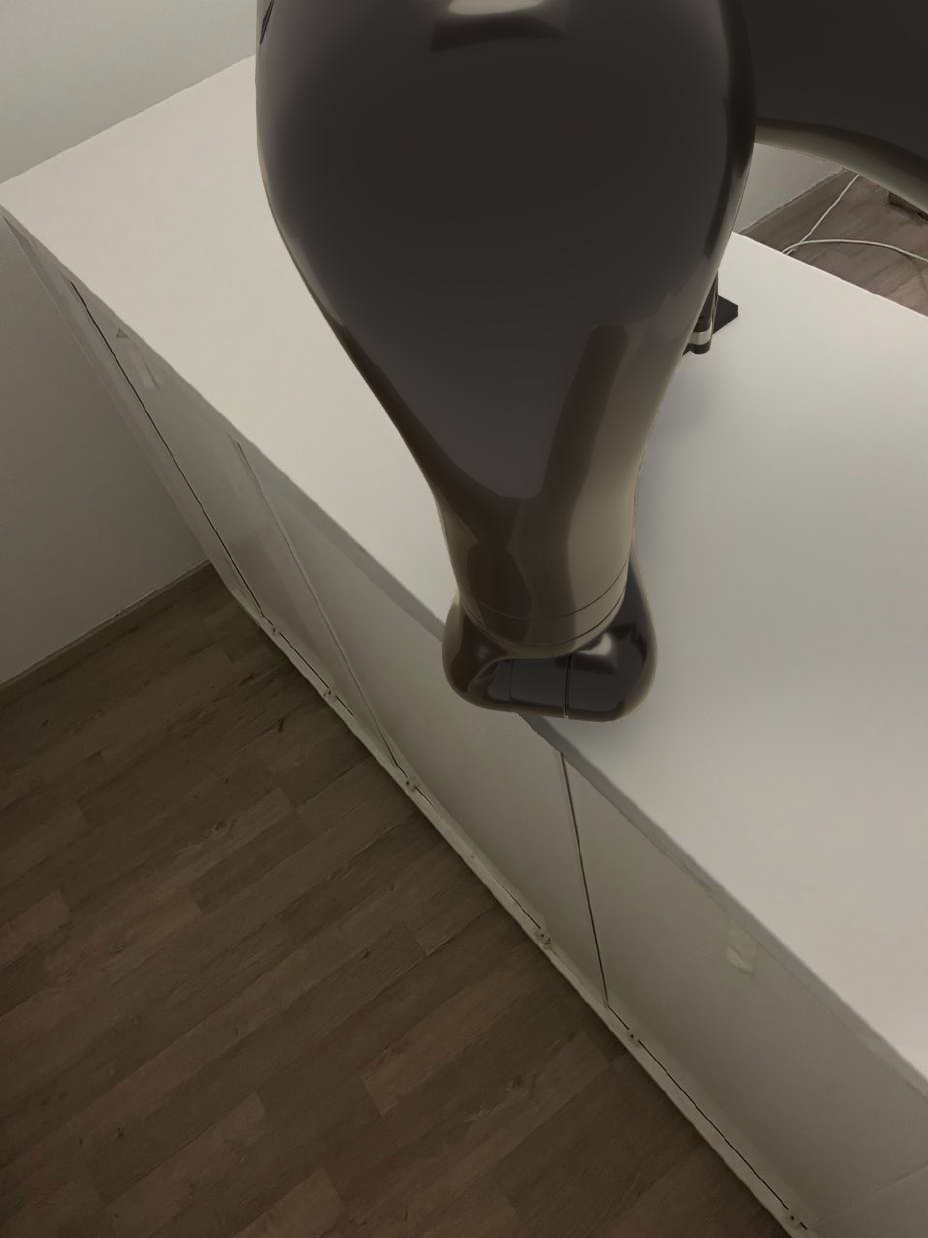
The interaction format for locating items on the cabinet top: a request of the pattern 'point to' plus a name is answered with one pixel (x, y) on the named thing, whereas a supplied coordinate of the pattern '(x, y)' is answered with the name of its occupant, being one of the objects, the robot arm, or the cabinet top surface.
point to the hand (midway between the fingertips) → (612, 239)
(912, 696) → the cabinet top surface
